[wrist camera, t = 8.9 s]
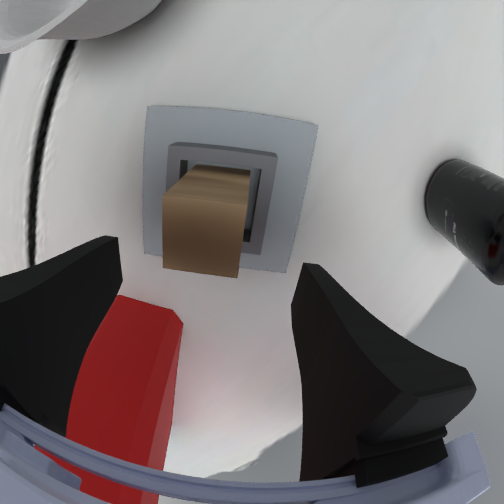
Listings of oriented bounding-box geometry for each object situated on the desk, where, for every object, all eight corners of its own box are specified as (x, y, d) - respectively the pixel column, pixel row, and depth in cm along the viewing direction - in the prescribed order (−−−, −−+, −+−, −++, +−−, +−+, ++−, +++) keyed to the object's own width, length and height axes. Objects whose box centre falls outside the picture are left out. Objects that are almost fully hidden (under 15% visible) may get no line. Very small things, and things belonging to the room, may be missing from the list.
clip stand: (284, 266, 21) (288, 288, 19) (148, 247, 21) (134, 267, 18) (315, 124, 16) (326, 126, 14) (152, 106, 15) (135, 105, 13)
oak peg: (243, 219, 18) (237, 278, 12) (193, 213, 18) (163, 267, 12) (250, 170, 17) (247, 205, 11) (196, 163, 17) (162, 195, 10)
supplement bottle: (410, 218, 19) (504, 311, 9) (440, 144, 16) (559, 195, 5) (457, 241, 20) (535, 321, 10) (485, 178, 17) (578, 236, 6)
